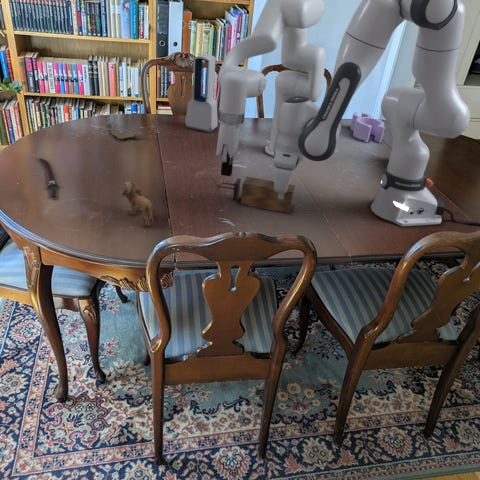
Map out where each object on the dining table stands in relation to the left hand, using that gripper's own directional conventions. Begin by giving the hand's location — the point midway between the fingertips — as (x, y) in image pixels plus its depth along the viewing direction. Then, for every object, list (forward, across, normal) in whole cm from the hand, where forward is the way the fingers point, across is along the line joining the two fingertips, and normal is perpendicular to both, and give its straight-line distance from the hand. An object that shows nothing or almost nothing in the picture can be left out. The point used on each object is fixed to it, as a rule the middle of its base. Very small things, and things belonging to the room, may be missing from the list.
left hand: (226, 174), depth 146 cm
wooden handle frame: (+7, -1, +8) cm, 11 cm away
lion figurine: (+9, +21, -20) cm, 30 cm away
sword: (+9, +8, -57) cm, 58 cm away
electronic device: (+7, -58, -25) cm, 64 cm away
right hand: (+3, 0, +18) cm, 19 cm away
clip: (+7, -86, +46) cm, 97 cm away
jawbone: (+8, -40, -52) cm, 66 cm away
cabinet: (+8, -1, +14) cm, 16 cm away
